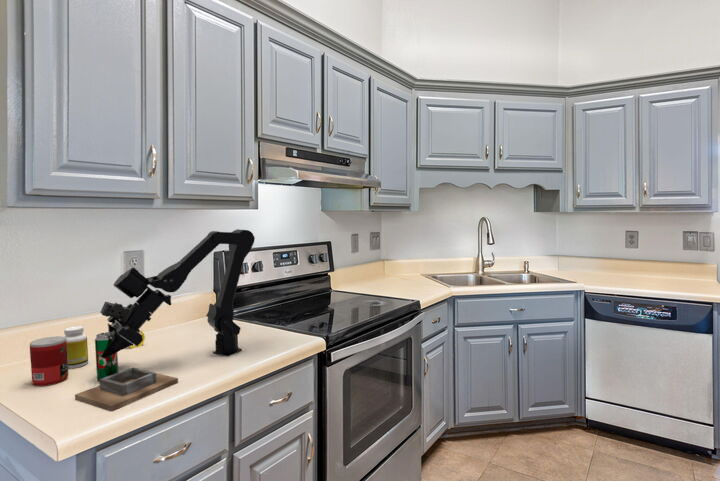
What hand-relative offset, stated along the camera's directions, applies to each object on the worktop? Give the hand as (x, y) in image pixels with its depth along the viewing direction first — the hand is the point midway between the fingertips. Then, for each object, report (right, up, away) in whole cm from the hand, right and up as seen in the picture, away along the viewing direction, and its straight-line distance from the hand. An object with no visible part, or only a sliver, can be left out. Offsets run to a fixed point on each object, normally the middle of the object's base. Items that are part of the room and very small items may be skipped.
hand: (100, 355), depth 117 cm
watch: (-5, -5, +28) cm, 29 cm away
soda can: (+1, -7, +1) cm, 7 cm away
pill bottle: (-14, -6, +11) cm, 19 cm away
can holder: (+11, -7, -7) cm, 15 cm away
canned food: (-13, -7, 0) cm, 15 cm away
